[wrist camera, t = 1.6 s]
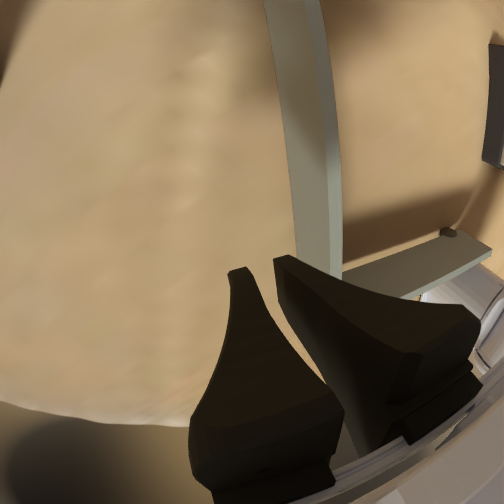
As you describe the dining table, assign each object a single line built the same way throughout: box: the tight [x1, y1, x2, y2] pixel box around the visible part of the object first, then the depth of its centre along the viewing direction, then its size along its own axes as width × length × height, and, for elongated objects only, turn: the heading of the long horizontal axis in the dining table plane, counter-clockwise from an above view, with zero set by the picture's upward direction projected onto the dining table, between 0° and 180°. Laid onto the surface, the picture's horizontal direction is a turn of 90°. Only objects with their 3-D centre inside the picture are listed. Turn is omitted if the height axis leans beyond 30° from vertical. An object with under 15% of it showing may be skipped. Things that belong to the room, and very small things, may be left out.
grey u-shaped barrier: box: [263, 0, 492, 300], centre depth 16 cm, size 27×20×6 cm
